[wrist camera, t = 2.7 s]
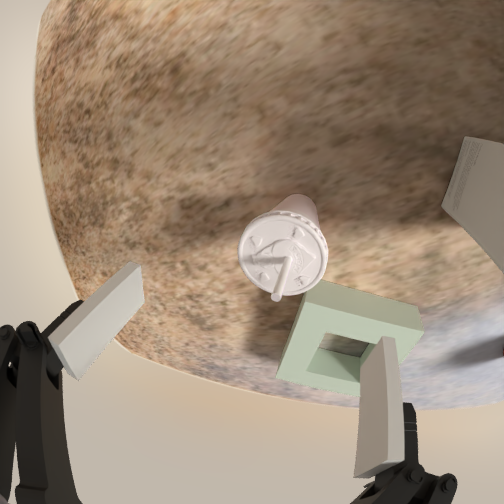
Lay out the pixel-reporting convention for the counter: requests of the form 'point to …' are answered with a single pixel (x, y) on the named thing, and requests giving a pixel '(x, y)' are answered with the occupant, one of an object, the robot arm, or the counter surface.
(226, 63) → the counter surface
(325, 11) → the counter surface
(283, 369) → the block
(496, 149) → the skincare box
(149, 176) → the counter surface
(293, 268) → the smoothie
